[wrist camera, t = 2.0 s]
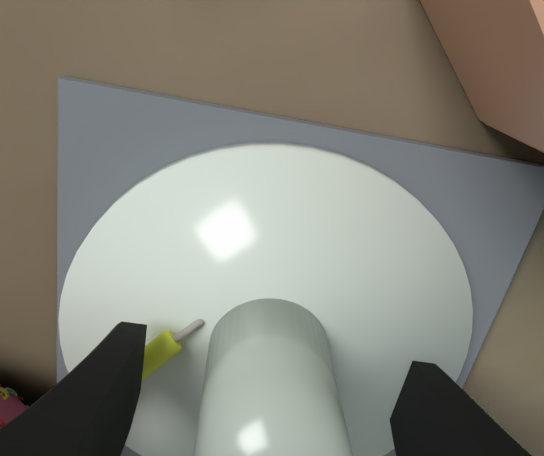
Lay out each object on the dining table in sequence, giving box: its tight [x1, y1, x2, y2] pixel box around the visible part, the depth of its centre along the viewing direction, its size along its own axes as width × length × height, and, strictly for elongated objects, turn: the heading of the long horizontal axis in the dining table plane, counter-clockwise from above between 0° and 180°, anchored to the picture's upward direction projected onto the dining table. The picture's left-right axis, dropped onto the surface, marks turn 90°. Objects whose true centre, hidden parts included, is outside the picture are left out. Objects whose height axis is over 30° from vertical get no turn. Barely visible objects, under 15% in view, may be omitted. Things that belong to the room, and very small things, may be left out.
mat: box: [57, 76, 544, 456], centre depth 14 cm, size 12×12×1 cm
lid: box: [58, 141, 473, 456], centre depth 11 cm, size 11×11×5 cm
